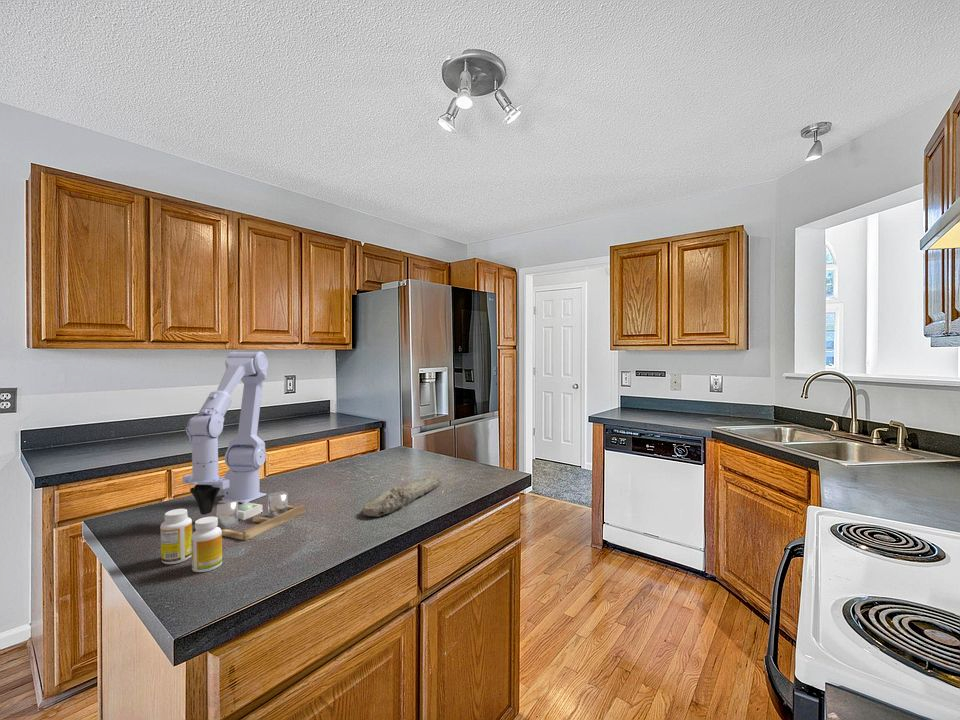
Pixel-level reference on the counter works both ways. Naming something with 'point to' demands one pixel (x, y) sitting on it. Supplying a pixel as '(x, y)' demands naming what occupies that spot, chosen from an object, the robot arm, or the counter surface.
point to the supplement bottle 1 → (176, 537)
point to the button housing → (250, 511)
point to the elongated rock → (400, 496)
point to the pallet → (265, 523)
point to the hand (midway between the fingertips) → (206, 513)
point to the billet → (227, 513)
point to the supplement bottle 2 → (206, 545)
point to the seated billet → (277, 503)
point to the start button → (245, 506)
